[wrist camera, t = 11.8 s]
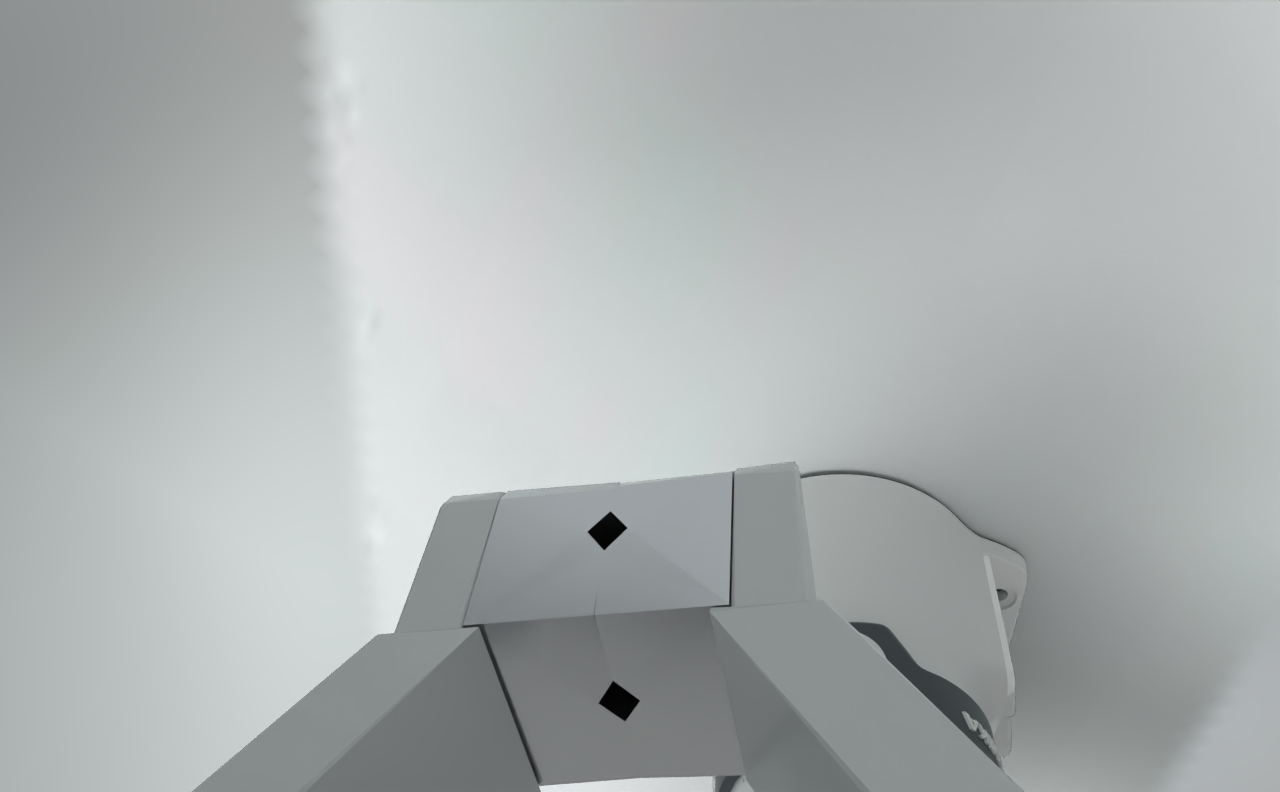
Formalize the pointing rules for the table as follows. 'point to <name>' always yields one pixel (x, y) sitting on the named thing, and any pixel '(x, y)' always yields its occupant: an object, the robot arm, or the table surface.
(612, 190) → the table surface
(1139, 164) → the table surface
